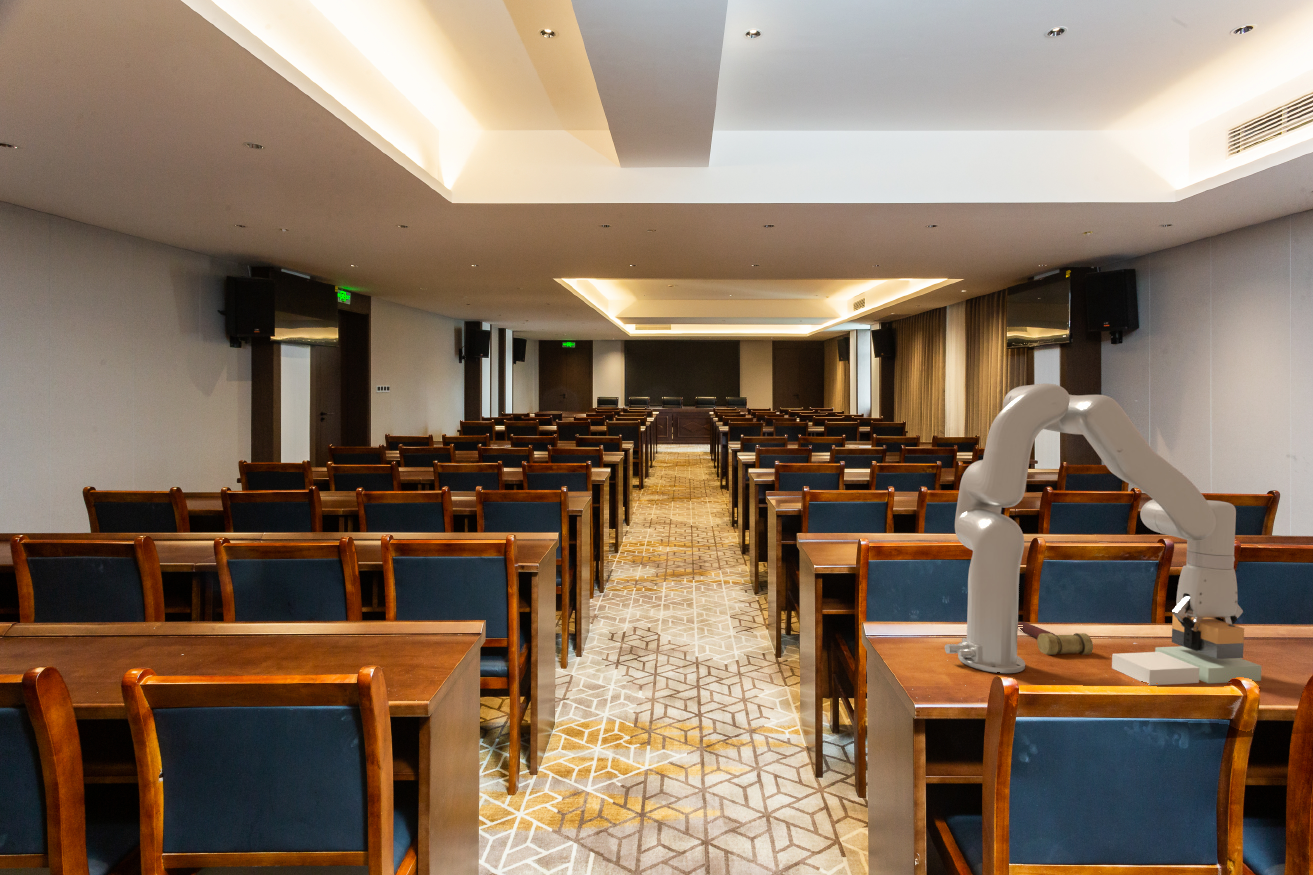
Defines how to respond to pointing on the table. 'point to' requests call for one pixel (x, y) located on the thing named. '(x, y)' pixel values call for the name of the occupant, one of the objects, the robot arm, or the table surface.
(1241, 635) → the housing cover
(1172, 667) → the stand
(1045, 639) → the gavel
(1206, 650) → the housing base
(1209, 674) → the stand
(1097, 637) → the table surface
